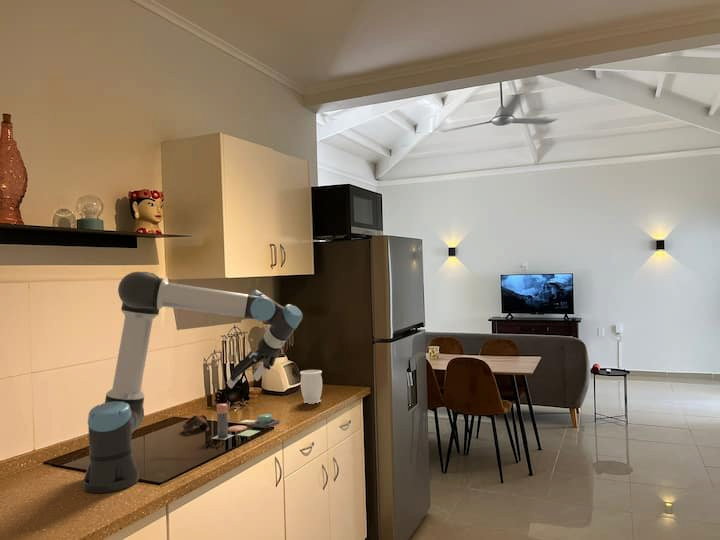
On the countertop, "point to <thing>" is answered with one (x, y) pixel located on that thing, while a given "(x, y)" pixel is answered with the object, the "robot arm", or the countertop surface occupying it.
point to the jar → (311, 386)
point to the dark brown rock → (196, 423)
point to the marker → (222, 420)
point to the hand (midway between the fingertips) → (242, 381)
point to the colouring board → (248, 432)
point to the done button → (264, 418)
